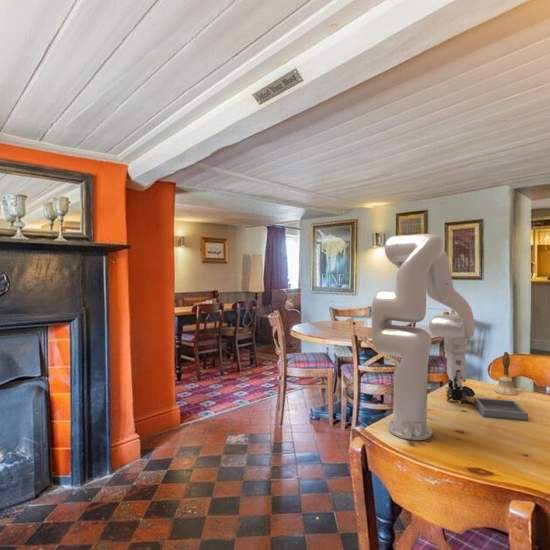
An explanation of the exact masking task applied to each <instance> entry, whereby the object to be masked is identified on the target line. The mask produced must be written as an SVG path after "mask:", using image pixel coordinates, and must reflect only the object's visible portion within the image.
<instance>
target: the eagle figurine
mask: <svg viewBox="0 0 550 550" xmlns="http://www.w3.org/2000/svg"><path fill="white" fill-rule="evenodd" d="M445 389H446V390H445ZM445 389H444V391H445V392H446V393H445V396H446V399H447V400H446V402H450V400H451V399H452V389H451V388H450V387H448V386H446V387H445ZM475 395H476V393H475V391H474V389H473V388H471V387H469V386H467V385H466V386H465V385H464V386H463V385H462V400H464V401H466V402H468V403H469V404H472V405H474V401H472V400H470V399H469V398H474V397H475ZM457 403H458V404H459V405H461V403H462V401H457Z"/></svg>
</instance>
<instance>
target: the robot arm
mask: <svg viewBox="0 0 550 550" xmlns="http://www.w3.org/2000/svg"><path fill="white" fill-rule="evenodd" d="M384 253H385V256H386V258H387V260H388V261H389V262H390V263H392V264H393V265H394V266H395V267H397V268H398V270H397V273H396V278H395V279H396V281H395V282H396V283H395V284H396V285H395V289H381V290H379V291H378V292H377V293H375V295H374V297H373V300H372V304H371V343H372V346H373V350H375V351H376V352H377V353H378V354H381V355H382V354H383V355H388V356H393V357H397V358H401V361H400V362H399V363H398V364H397V366H396V367H395V368H394V372H393V417H392V418H393V420H392V421H390V422H388V424H387V429H388V431H389V432H390V433H391V434H393V435H394V436H396V437H398V438H400V439H405V440H410V441H424V440H428V439H430V438H431V437H432V436H433V429H432V428H431V427H430V426H429V425H428V373H429V372H428V371H429V370H428V369H429V359H430V355H431V350H432V336H435V337H441V338H444V339H443V341H444V343H443V345H444V346H443V347H444V349H443V351H444V353H446V354H447V355H446V374H447V376H448V384H447V385H448V386H447V387H450V388H451V389H452V398H451V399H452V401H457V402H458V401H461V402H463V399H462V386H463V383H466V382H467V369H466V368H467V367H466V366H467V364H466V363H467V362H466V356H465V355H467V353H468V340H471V339H472V338H473V337H474V335H475V331H476V326H475V325H476V324H475V317H474V314H473V310H472V307H471V306H470V305H471V304H469V302H468V301H467V300H466V299H465V298H464V296H462V295H461V294H460V293H459V292H458V291H457V290H455V289H454V284H453V283H454V282H453V278H452V273H451V268H450V262H449V258H448V257H449V256H448V254H447V252H446V251H445V250H443V240H442V238H441V237H440V236H439V235H437V234H435V233H434V234H433V233H416V234H415V233H414V234H399V235H392V236H390V237H388V238H387V240H386V242H385V244H384ZM427 296H428V298H430V299H432V300H433V301H436V302H437V303H440V304H442V305H444V306H446V307H448V308H450V309H452V310H453V311H454V312H455V313H449V314H447V315H436V316H434V317H432V318H431V319H430V321H429V323H428V328H429V331H430V333H431V334H432V336H431V335H430V333H429V332H428V331H426V330H425V329H423V328H420V327H414V326H410V325H409V326H408V325H398V324H392V321H394V322H403V323H414V324H415V323H420V322H422V321H423V320H424V319H425V316H426V314H427V312H426V311H427ZM462 382H463V383H462Z"/></svg>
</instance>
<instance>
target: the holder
mask: <svg viewBox="0 0 550 550" xmlns="http://www.w3.org/2000/svg"><path fill="white" fill-rule="evenodd" d="M473 403H474V404H473V405H474V406H475V408H476V409H477V410H478V412H479V413H480V415H481V416H482V417H483V418H490V419H502V420H512V421H522V422H523V421H524V422H528V420H529V418H528V416H529V413H528V412H527V411H526V410H525V409H524V408H523V407H522V406H521V405H520V404H518V403H517V402H516V401H515V400H510V399H509V400H508V399H507V400H506V399H497V398H485V397H484V398H483V397H473Z"/></svg>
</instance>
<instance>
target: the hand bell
mask: <svg viewBox="0 0 550 550" xmlns="http://www.w3.org/2000/svg"><path fill="white" fill-rule="evenodd" d="M501 360H502V365H503V376H499V380H498V384H497V386H496V387H494V388H493V391H494V393H497V394H499V395H505V396H510V397H511V396H517V395H519V392H518V391H517V390H516V389H515V386H514V383H513V382H514V381H513V379H512V378H511V377H509V367H510V365H511V358H510V355H509V352H508V351H504V353H503V355H502V359H501Z"/></svg>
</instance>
